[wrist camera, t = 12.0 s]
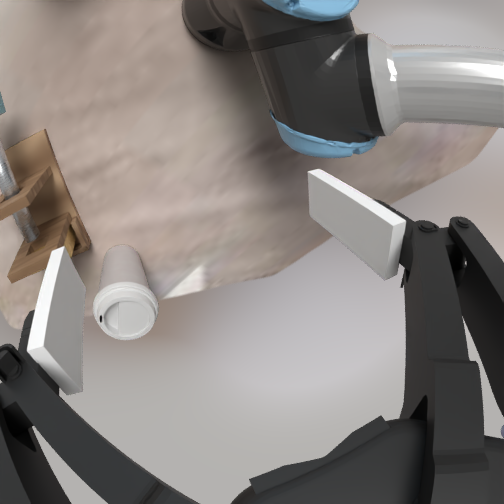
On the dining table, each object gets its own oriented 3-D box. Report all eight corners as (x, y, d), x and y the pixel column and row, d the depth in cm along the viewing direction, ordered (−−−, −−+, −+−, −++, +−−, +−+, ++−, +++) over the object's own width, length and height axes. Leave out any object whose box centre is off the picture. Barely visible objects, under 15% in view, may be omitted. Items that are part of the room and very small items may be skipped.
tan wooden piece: (34, 237, 41) (23, 261, 35) (71, 220, 42) (64, 243, 37) (40, 249, 42) (31, 274, 36) (77, 233, 44) (71, 257, 38)
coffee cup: (109, 227, 47) (108, 280, 35) (158, 249, 52) (173, 305, 41) (87, 272, 49) (83, 332, 37) (134, 290, 54) (143, 350, 43)
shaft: (-26, 108, 23) (-42, 112, 20) (0, 91, 24) (-14, 93, 21) (24, 235, 35) (16, 252, 31) (49, 223, 36) (42, 239, 32)
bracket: (-7, 157, 33) (-46, 187, 22) (45, 128, 35) (15, 148, 24) (43, 261, 44) (27, 315, 33) (90, 241, 46) (85, 292, 36)
